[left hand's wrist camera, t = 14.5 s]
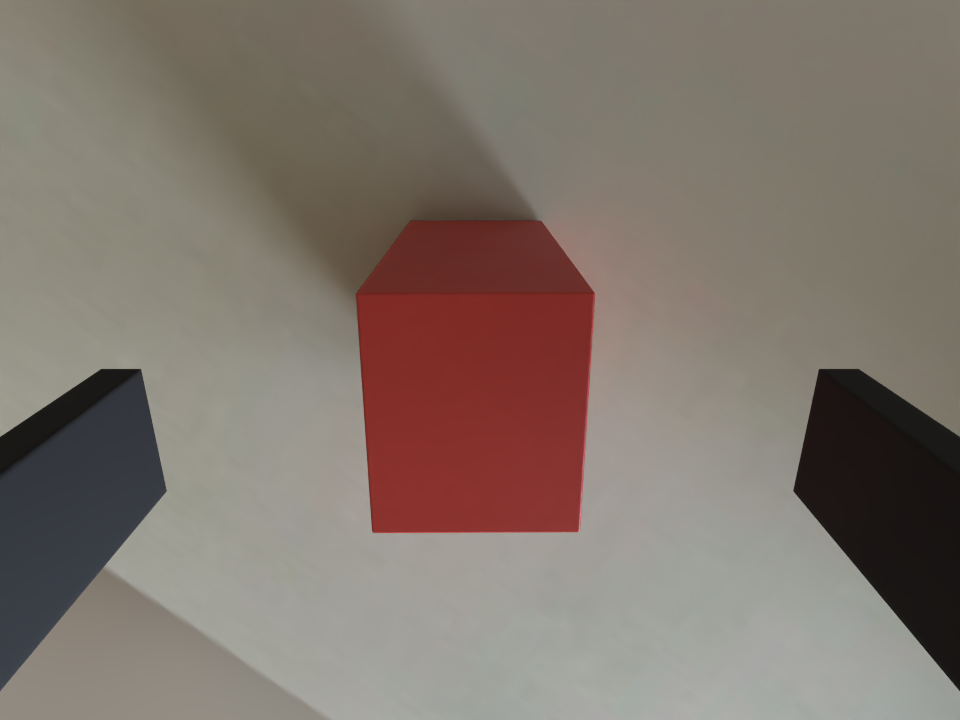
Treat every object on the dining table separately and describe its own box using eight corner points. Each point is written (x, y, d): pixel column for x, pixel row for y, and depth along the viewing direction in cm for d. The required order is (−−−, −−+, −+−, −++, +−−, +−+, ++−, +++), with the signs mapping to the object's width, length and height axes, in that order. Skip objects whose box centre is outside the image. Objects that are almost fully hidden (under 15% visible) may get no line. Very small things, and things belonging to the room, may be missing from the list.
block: (536, 366, 25) (580, 533, 15) (415, 367, 25) (371, 533, 15) (541, 220, 23) (595, 292, 13) (409, 220, 23) (354, 293, 13)
